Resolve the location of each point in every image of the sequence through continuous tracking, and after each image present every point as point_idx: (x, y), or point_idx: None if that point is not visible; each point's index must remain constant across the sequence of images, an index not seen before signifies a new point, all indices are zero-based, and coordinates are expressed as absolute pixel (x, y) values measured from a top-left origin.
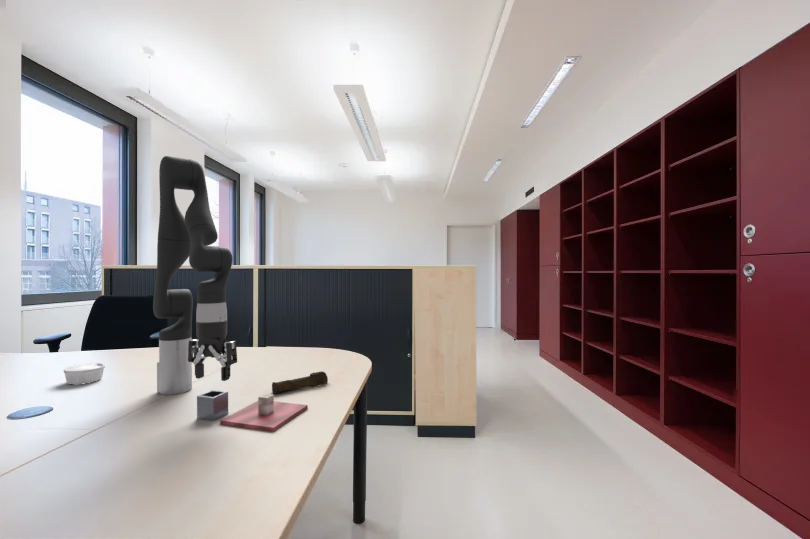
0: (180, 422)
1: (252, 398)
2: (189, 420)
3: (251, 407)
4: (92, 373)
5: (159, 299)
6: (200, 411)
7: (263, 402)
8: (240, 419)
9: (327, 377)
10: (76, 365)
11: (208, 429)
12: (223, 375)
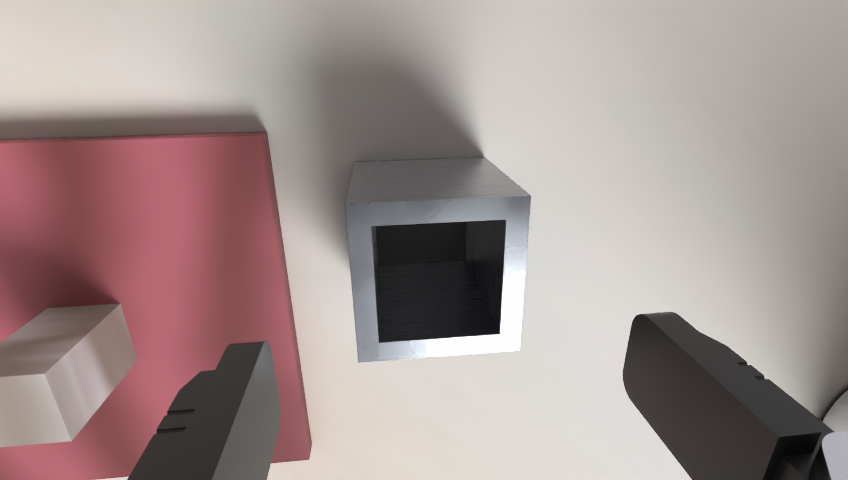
0: (541, 73)
1: (406, 473)
2: (509, 118)
3: None
4: None
5: None
6: (466, 168)
7: (20, 353)
8: (139, 191)
9: None
10: None
11: (267, 36)
12: (209, 388)
